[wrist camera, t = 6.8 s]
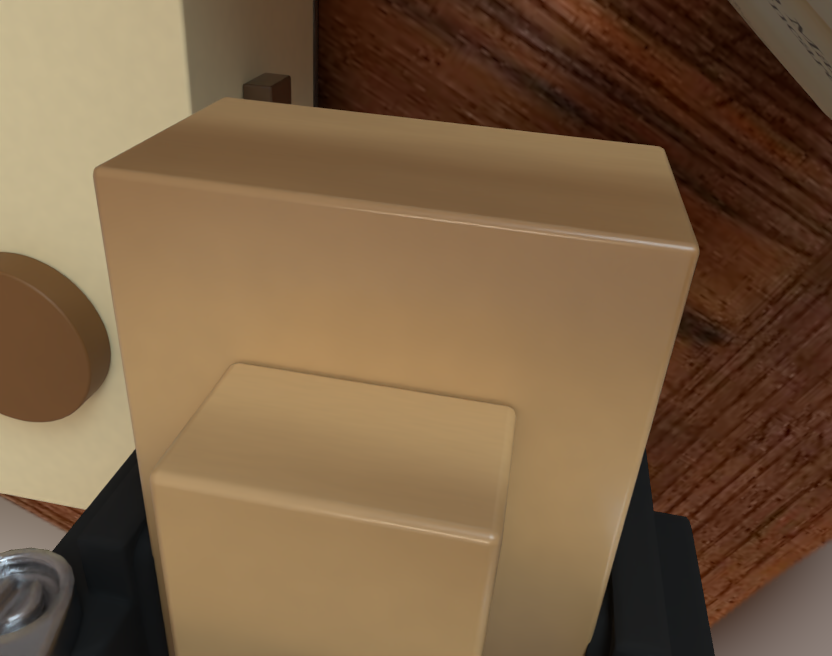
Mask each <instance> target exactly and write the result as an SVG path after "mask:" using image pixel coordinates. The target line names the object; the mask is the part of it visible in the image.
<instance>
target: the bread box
mask: <svg viewBox="0 0 832 656" xmlns="http://www.w3.org/2000/svg"><path fill="white" fill-rule="evenodd" d="M225 97H229V98H238V99H247V100H256V101H264V102H273V103H282V104H291V105H300V106H308V107H317V108H318V0H0V252H9V253H16V254H21V255H25V256H28V257H31V258H34V259H36V260H39V261H41V262H43V263H45V264H47V265H49V266H51V267H52V268H54V269H56V270H57V271H59V272H60V273H61V274H63V275H64V276H66V277H67V278H68V279H69V280H70V281H72V282H73V283H74V284H75V285H76V286H77V287H78V288H79V289H80V290H81V291H82V292H83V293H84V294H85V295H86V297H87V298H88V299H89V300H90V302H91V303H92V304H93V306H94V307H95V309H96V310H97V312H98V314H99V315H100V317H101V319H102V321H103V323H104V326H105V329H106V331H107V334H108V338H109V343H110V351H111V358H110V366H109V370H108V374H107V376H106V378H105V380H104V382H103V383H102V385H101V386H100V387H99V389H98V390H97V391H96V392H95V393H94V394H93V395H92V396H91V397H90V398H89V399H88V400H87V401H86V402H85V403H84V404H83V405H82V406H81V407H80V408H79V409H78V410H77V411H75V412H74V413H72V414H71V415H69V416H67V417H65V418H63V419H59V420H56V421H51V422H28V421H22V420H18V419H14V418H11V417H8V416H5V415H2V414H0V493H3V494H9V495H14V496H19V497H24V498H29V499H34V500H39V501H44V502H49V503H54V504H59V505H64V506H69V507H74V508H79V509H84V510H86V509H87V508H88V507H89V505H90V504H91V503H92V502H93V500H94V499H95V498H96V497H97V496H98V494H99V493H100V492H101V491H102V489H103V488H104V487H105V486H106V484H107V483H108V482H109V481H110V480H111V478H112V477H113V476H114V475H115V473H116V472H117V471H118V470H119V468H120V467H121V466H122V465H123V463H124V462H125V461H126V460H127V459H128V457H129V456H130V455H131V454H132V452H133V451H134V450H135V449H136V448H135V442H134V435H133V429H132V422H131V416H130V410H129V403H128V397H127V391H126V384H125V378H124V372H123V365H122V359H121V353H120V346H119V340H118V333H117V327H116V321H115V314H114V308H113V302H112V295H111V289H110V283H109V276H108V270H107V264H106V257H105V251H104V244H103V238H102V232H101V225H100V219H99V213H98V206H97V200H96V194H95V187H94V181H93V171H94V169H95V167H97V166H98V165H100V164H102V163H104V162H106V161H108V160H110V159H111V158H113V157H115V156H117V155H119V154H121V153H122V152H124V151H126V150H128V149H130V148H132V147H133V146H135V145H137V144H139V143H141V142H143V141H144V140H146V139H148V138H150V137H152V136H154V135H155V134H157V133H159V132H161V131H163V130H165V129H166V128H168V127H170V126H172V125H174V124H176V123H177V122H179V121H181V120H183V119H185V118H187V117H188V116H190V115H192V114H194V113H196V112H198V111H199V110H201V109H203V108H205V107H207V106H209V105H210V104H212V103H214V102H216V101H218V100H220V99H222V98H225Z"/></svg>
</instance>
